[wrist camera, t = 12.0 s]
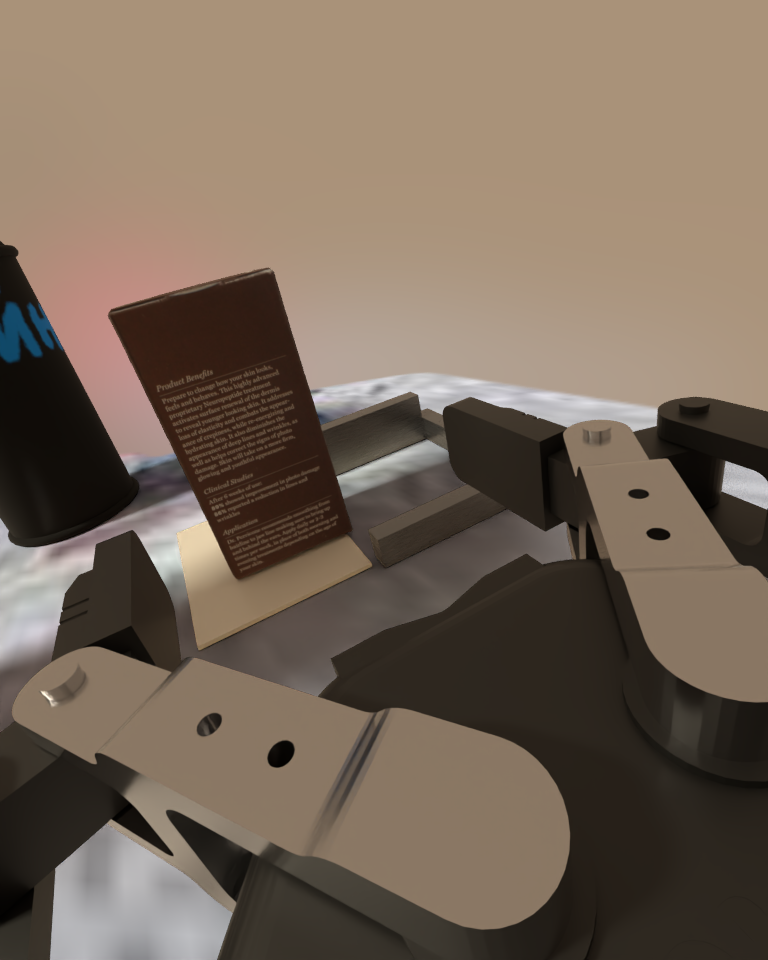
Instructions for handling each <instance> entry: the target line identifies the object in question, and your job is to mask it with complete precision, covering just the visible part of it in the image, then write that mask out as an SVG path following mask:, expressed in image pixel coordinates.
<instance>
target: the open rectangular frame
mask: <svg viewBox="0 0 768 960" xmlns="http://www.w3.org/2000/svg"><path fill="white" fill-rule="evenodd" d="M321 428H322V431H323V434H324V438H325V441H326V444H327V447H328V451H329V454H330V457H331V460H332V464H333V467H334V470H335V474H336V475H338V474H341V473H343V472H346V471H348V470H351V469H353V468H355V467H358V466H360V465H363V464H365V463H368V462H370V461H372V460H375V459H377V458H380V457H382V456H385V455H387V454H389V453H392V452H394V451H397V450H399V449H402V448H404V447H406V446H409V445H411V444H414V443H416V442H419V441H421V440H423V439H428V440H430V441H432V442H433V443H435V444H437V445H439V446H441V447H443V448H444V449H446V450H448V446H447V440H446V434H445V428H444V422H443V415H441V414H439V413H437V412H434V411H432V410H430V409H428V408H427V409H425V410H422V411H421V409H420V404H419V398H418V395H417V394H414V393H412V392H408V393H406V394H403V395H400V396H398V397H395V398H392V399H390V400H387V401H384V402H382V403H379V404H376V405H374V406H371V407H368V408H365V409H363V410H360V411H357V412H355V413H352V414H349V415H347V416H344V417H341V418H339V419H336V420H333V421H331V422H328V423H325V424H323V425H321ZM505 509H507V508H506V507H504V506H502V505H501V504H499V503H498V502H496V501H494V500H493V499H491V498H489V497H488V496H486V495H484V494H483V493H481V492H480V491H478V490H476V489H475V488H473V487H471V486H470V485H468V484H467V485H465V486H462V487H460V488H458V489H456V490H454V491H451V492H449V493H447V494H445V495H443V496H441V497H438V498H436V499H434V500H432V501H430V502H427V503H425V504H423V505H421V506H419V507H417V508H414V509H412V510H410V511H408V512H406V513H403V514H401V515H399V516H397V517H395V518H393V519H390V520H388V521H386V522H384V523H382V524H380V525H377V526H375V527H373V528H371V529H369V530H368V531H369V535H370V538H371V542H372V546H373V549H374V553H375V557H376V558H377V559H378V560H379V561H380V563H381V564H382V565H383V566H384V567H385V568H387V567H389V566H391V565H393V564H395V563H397V562H399V561H401V560H403V559H405V558H407V557H409V556H411V555H413V554H415V553H417V552H419V551H421V550H423V549H425V548H427V547H430V546H432V545H434V544H436V543H438V542H440V541H442V540H444V539H446V538H448V537H450V536H452V535H454V534H456V533H458V532H460V531H462V530H464V529H466V528H468V527H470V526H472V525H474V524H476V523H478V522H480V521H482V520H484V519H486V518H489V517H491V516H493V515H495V514H497V513H499V512H501V511H503V510H505Z"/></svg>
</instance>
